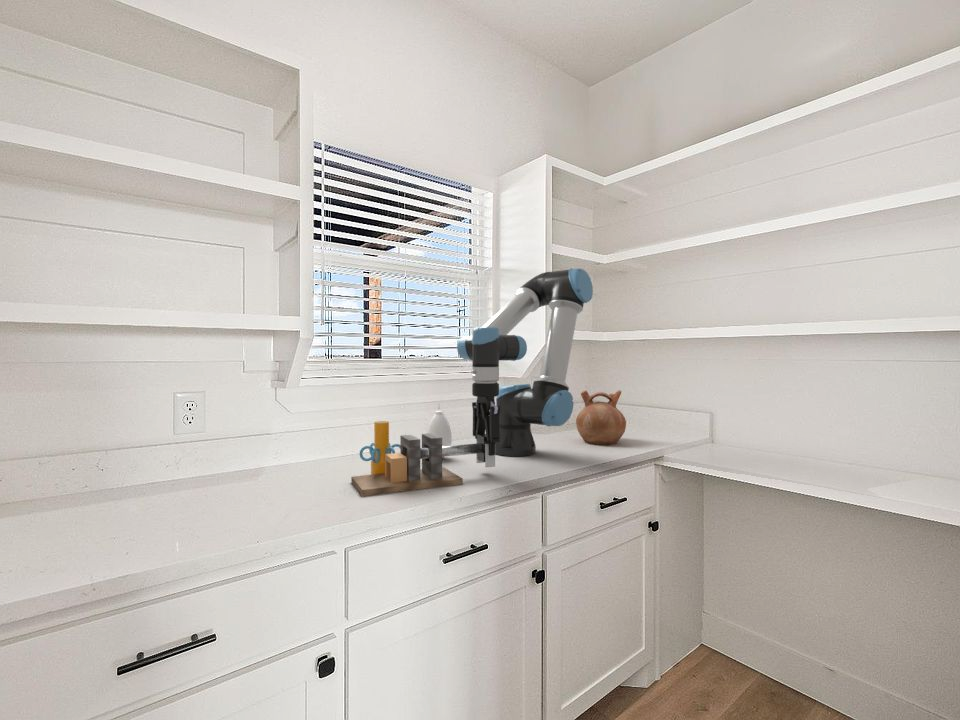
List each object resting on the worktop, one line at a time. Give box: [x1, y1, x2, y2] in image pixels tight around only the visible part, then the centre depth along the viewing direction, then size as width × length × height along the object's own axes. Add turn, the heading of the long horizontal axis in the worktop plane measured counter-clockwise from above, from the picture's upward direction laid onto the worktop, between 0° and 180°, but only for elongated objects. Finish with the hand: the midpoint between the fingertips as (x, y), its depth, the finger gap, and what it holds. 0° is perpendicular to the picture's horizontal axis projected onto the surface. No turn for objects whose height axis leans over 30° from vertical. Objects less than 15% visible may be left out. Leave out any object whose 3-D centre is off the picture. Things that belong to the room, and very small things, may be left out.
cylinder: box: [359, 420, 400, 475], centre depth 140 cm, size 12×10×15 cm
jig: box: [350, 433, 464, 497], centre depth 132 cm, size 26×14×12 cm, turn 115°
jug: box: [575, 390, 627, 446], centre depth 191 cm, size 18×18×20 cm
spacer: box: [385, 452, 407, 482], centre depth 131 cm, size 4×6×6 cm, turn 25°
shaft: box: [420, 433, 487, 463], centre depth 138 cm, size 22×4×7 cm, turn 115°
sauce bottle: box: [426, 403, 453, 459], centre depth 163 cm, size 8×8×18 cm
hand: (485, 464), depth 142 cm, fingers open, 5 cm apart
